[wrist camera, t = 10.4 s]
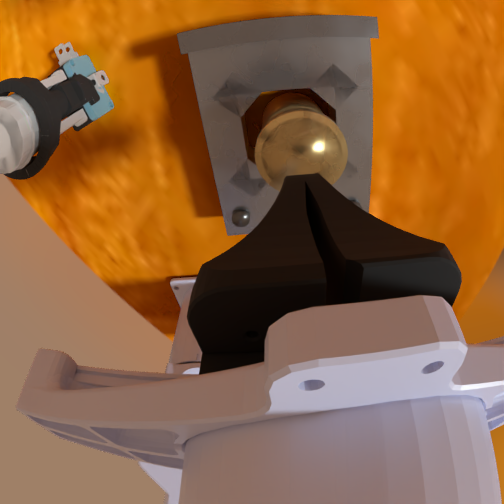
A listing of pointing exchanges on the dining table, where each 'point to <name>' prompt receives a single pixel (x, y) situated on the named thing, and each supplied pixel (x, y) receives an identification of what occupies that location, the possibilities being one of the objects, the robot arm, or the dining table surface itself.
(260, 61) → the jig
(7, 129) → the push button
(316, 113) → the brass door knob
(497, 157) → the dining table surface
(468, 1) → the dining table surface
